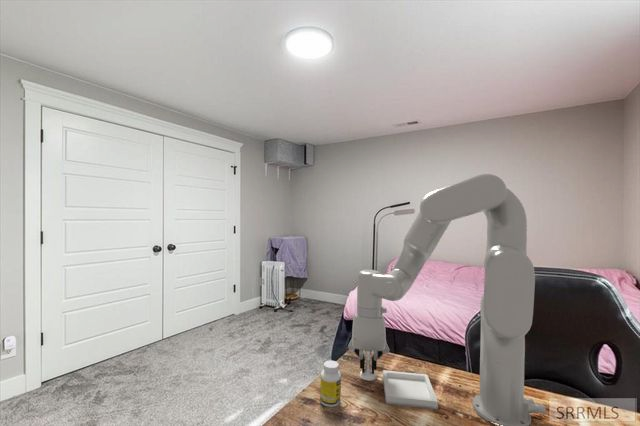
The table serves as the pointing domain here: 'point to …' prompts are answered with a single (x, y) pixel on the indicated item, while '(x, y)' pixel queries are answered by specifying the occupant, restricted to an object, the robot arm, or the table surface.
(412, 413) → the table surface
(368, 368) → the chess piece
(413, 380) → the tray
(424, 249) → the robot arm
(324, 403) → the supplement bottle
